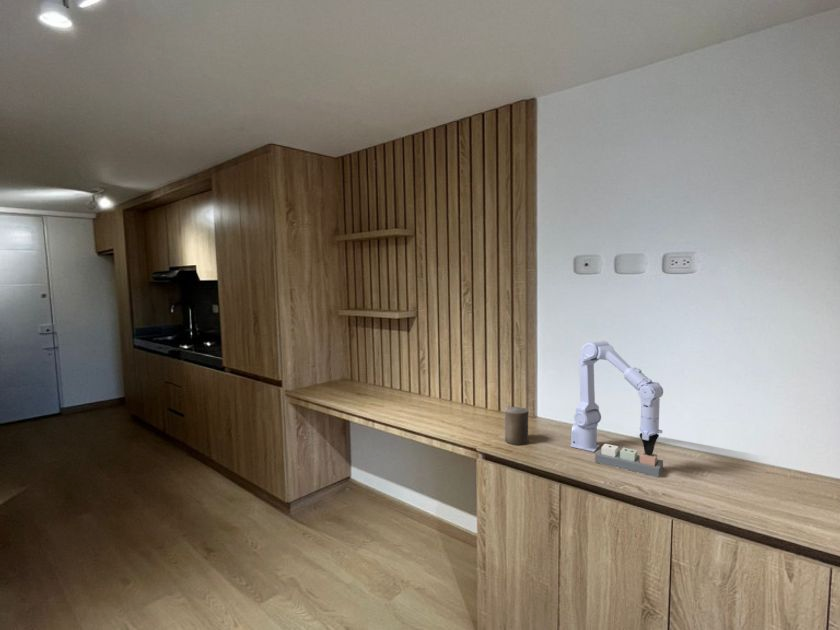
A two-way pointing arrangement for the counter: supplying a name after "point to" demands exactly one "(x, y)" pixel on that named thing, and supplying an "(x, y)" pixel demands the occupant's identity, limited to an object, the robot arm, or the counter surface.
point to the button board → (629, 464)
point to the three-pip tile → (648, 459)
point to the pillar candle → (516, 425)
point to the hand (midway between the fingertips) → (648, 454)
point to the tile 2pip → (628, 454)
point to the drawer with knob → (609, 450)
